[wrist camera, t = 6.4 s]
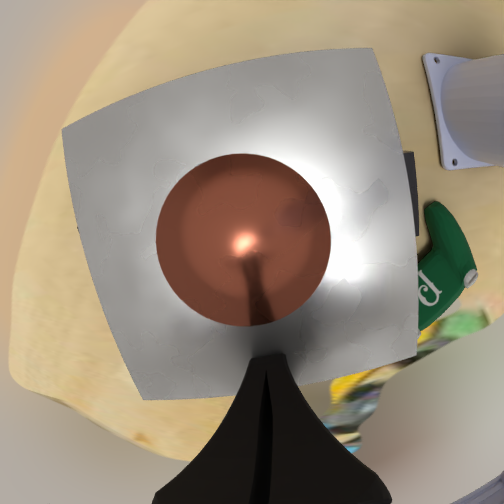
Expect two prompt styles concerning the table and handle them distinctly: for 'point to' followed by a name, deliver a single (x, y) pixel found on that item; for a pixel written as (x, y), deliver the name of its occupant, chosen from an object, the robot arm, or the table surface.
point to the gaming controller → (443, 266)
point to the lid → (250, 223)
